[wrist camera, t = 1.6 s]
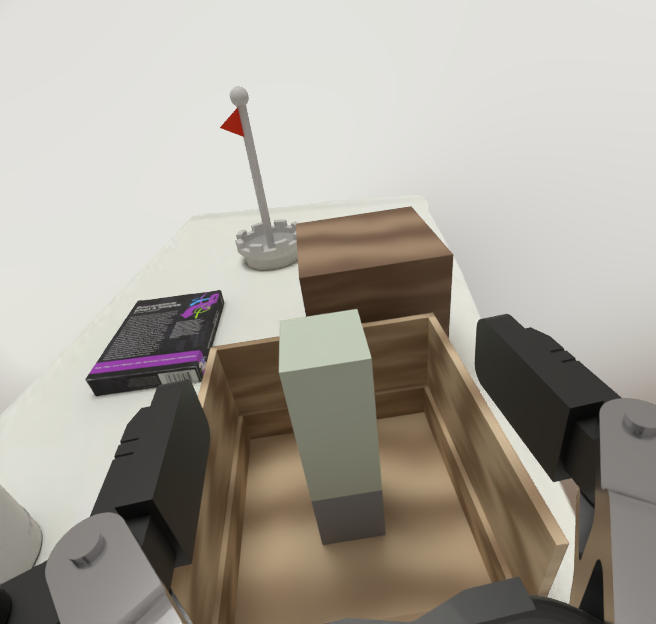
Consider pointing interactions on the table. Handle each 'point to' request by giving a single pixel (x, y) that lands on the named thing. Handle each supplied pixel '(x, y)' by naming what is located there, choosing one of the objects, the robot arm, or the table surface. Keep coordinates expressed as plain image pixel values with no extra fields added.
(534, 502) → the wooden open bin
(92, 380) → the box
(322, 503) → the box
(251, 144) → the flag stand
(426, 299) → the riser
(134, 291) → the table surface
